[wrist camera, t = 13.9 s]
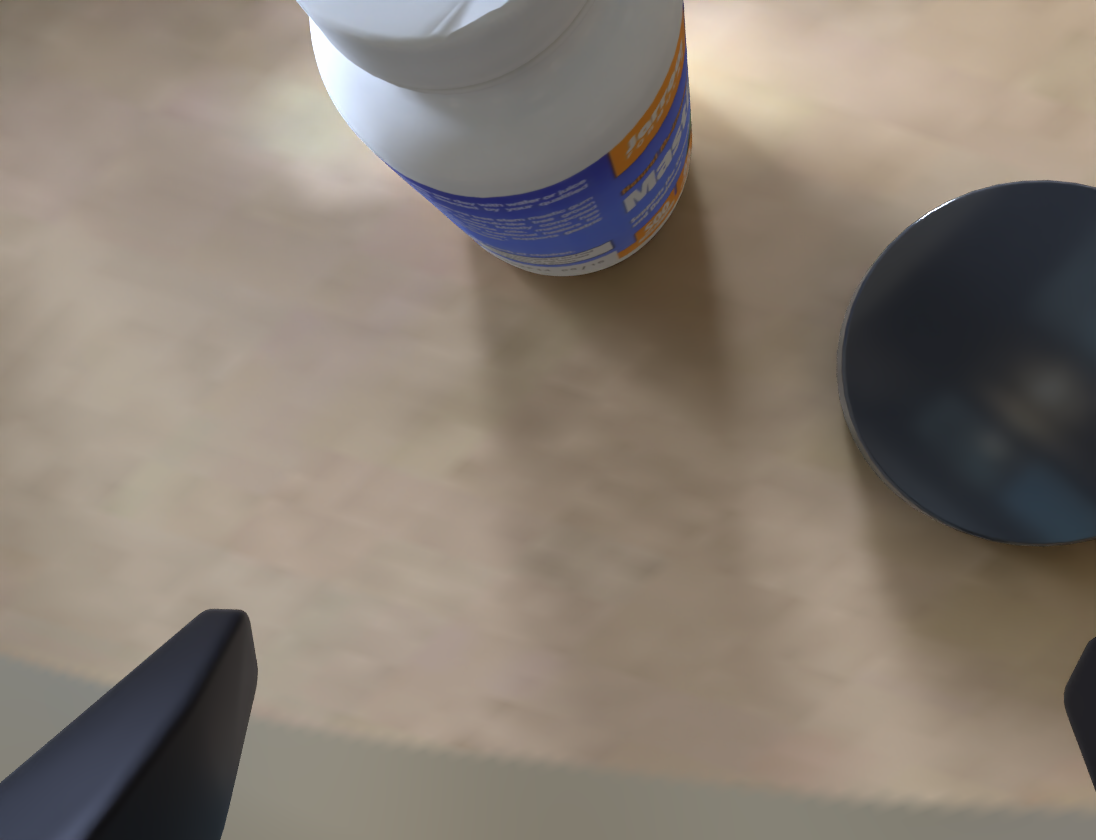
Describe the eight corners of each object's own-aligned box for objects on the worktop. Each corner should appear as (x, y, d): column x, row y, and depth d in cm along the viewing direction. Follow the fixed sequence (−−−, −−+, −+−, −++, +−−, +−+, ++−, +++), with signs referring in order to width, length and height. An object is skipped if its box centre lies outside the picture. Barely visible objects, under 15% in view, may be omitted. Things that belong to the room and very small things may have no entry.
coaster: (1285, 452, 16) (1314, 452, 16) (930, 597, 17) (941, 604, 17) (1109, 128, 17) (1129, 113, 16) (777, 287, 18) (781, 280, 17)
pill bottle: (693, 276, 18) (679, 99, 9) (448, 284, 19) (197, 133, 10) (691, 23, 19) (676, -420, 9) (448, 44, 20) (201, -337, 10)
